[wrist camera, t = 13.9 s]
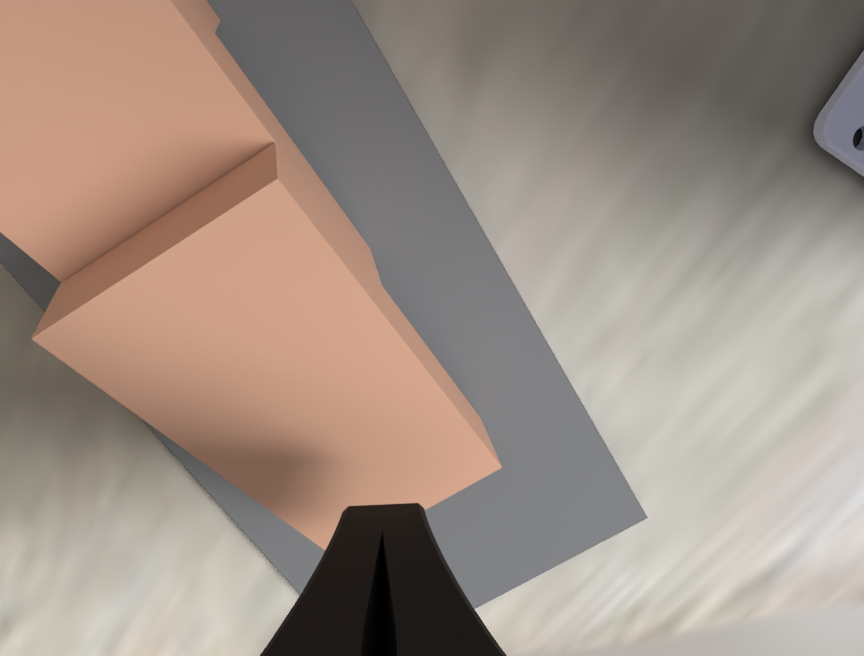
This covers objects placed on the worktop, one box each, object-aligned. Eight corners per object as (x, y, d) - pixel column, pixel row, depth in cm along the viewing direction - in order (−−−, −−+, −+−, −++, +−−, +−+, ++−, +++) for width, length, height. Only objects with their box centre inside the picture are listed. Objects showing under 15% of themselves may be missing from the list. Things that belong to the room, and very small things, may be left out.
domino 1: (381, 285, 11) (15, -208, 7) (199, 397, 12) (-265, 13, 7) (370, 248, 13) (57, -187, 8) (206, 351, 13) (-183, -1, 8)
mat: (643, 510, 16) (647, 517, 15) (365, 657, 17) (365, 666, 16) (-295, -1125, 7) (-323, -1177, 7) (-763, -604, 8) (-806, -631, 8)
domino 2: (502, 467, 13) (277, 178, 8) (336, 559, 13) (31, 338, 8) (480, 417, 14) (275, 142, 9) (329, 502, 15) (60, 283, 10)
